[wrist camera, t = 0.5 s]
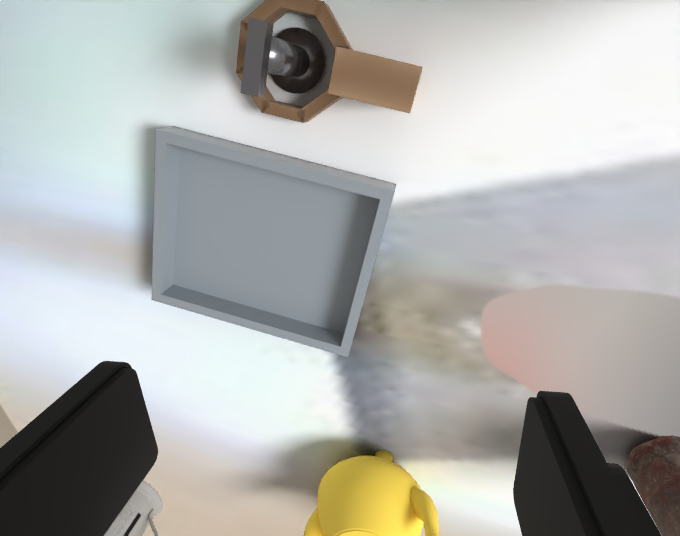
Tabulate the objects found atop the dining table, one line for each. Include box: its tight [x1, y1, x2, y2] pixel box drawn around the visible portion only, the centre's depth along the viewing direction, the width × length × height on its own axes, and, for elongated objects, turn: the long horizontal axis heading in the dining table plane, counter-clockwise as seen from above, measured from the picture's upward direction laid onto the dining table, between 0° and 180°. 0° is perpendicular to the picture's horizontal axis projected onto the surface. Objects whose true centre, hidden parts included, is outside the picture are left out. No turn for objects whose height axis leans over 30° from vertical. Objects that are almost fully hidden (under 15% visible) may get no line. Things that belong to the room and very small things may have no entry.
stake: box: [241, 17, 326, 97], centre depth 31 cm, size 5×5×10 cm
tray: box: [152, 126, 396, 357], centre depth 41 cm, size 18×22×3 cm
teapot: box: [304, 450, 439, 536], centre depth 48 cm, size 20×15×12 cm
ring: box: [236, 0, 422, 123], centre depth 32 cm, size 9×15×7 cm, turn 78°
